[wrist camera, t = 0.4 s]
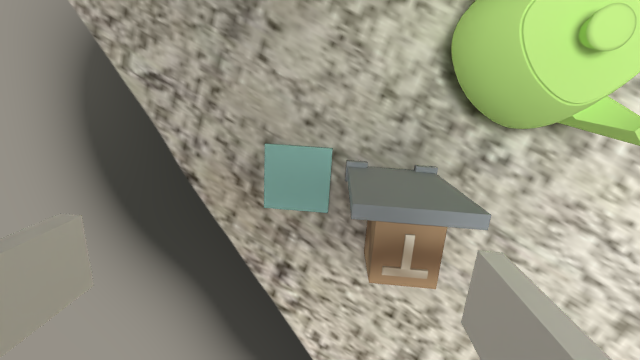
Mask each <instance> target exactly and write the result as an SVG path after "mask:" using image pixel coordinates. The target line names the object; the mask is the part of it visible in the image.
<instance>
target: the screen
mask: <svg viewBox="0 0 640 360" xmlns="http://www.w3.org/2000/svg"><path fill="white" fill-rule="evenodd" d="M367 165H368V162H365V161H351V160H347V165H346V176H345V181H347V182H348V188H349V199H350V210H351V219H359V220H371V221H383V222H395V223H407V224H419V225H431V226H443V227H456V228H468V229H480V230H488V227H489V222H490V218H491V214H489V213H488V212H487V211H485V210H484V209H483V208H481V207H480V206H479V205H477V204H476V203H475V202H473V201H472V200H471V199H469V198H468V197H467V196H465V195H464V194H463V193H461V192H460V191H459V190H457V189H456V188H455V187H453V186H452V185H450V184H449V183H448V182H446V181H445V180H444V179H442V178H441V177H440V176H438V175H437V170H438V168H437V167H433V166H420V165H415V168H414V170H406V169H392V168H379V167H367Z"/></svg>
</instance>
